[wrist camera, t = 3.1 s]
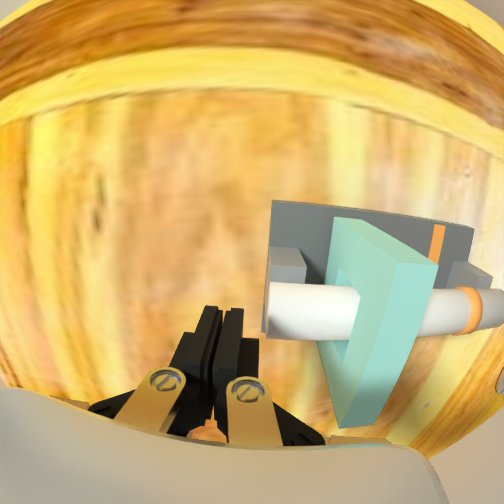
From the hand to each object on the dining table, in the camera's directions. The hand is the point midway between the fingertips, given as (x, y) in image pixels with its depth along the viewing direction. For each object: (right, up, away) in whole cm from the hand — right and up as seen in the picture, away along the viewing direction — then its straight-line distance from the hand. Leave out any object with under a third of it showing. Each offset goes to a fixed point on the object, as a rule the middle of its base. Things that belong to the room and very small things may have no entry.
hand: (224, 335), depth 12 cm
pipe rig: (+11, +2, +9) cm, 14 cm away
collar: (+7, +2, +7) cm, 10 cm away
